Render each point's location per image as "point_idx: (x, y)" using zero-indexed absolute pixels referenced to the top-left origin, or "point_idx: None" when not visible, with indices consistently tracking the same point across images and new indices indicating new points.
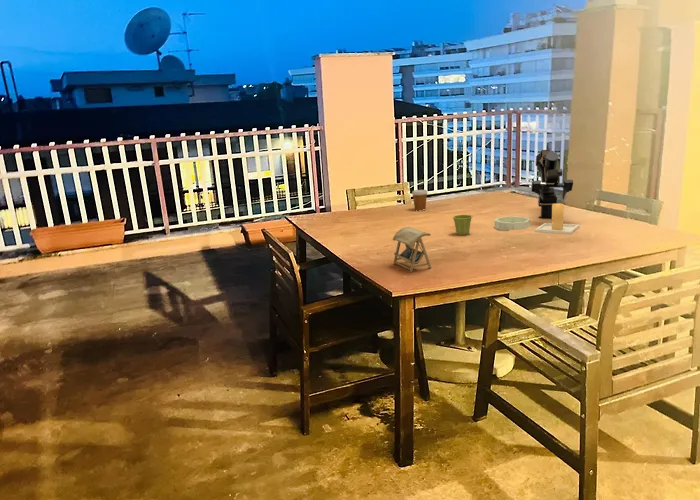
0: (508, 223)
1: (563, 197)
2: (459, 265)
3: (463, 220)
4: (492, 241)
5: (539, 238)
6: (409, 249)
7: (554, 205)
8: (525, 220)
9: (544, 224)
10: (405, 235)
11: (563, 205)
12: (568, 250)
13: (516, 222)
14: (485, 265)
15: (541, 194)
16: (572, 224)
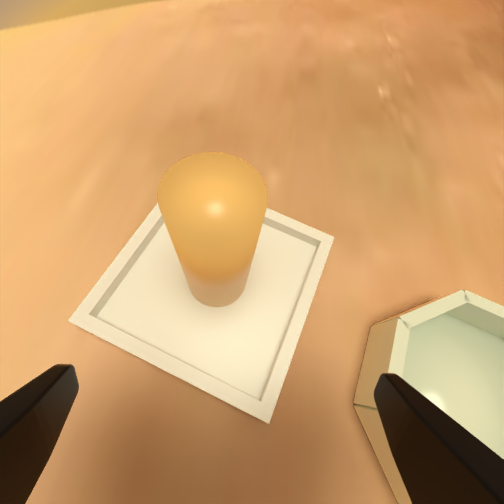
0: (488, 301)
1: (59, 367)
2: (461, 13)
3: None
4: (460, 155)
5: (308, 168)
6: None
7: (252, 169)
8: None
9: (280, 352)
10: None
11: (168, 176)
12: (237, 50)
13: (451, 307)
14: (414, 6)
15: (476, 444)
16: (109, 331)
